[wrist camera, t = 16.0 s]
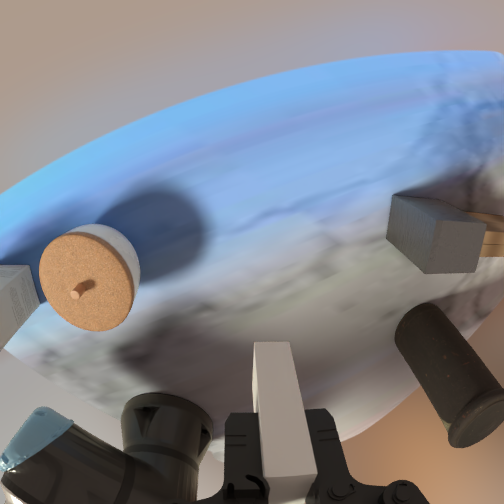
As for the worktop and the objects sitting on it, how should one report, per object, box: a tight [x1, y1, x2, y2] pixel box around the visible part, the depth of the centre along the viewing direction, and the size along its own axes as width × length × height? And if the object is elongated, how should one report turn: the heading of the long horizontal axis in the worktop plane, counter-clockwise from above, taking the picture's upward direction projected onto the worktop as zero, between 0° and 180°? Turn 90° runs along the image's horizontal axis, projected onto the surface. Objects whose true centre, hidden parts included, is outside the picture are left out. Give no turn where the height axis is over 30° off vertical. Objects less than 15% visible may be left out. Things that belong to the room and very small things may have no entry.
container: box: [395, 304, 504, 448], centre depth 32 cm, size 9×9×20 cm
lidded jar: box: [39, 224, 140, 331], centre depth 31 cm, size 11×11×9 cm
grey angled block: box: [386, 195, 487, 274], centre depth 30 cm, size 7×5×9 cm
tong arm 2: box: [463, 211, 504, 245], centre depth 31 cm, size 18×1×8 cm, turn 88°
